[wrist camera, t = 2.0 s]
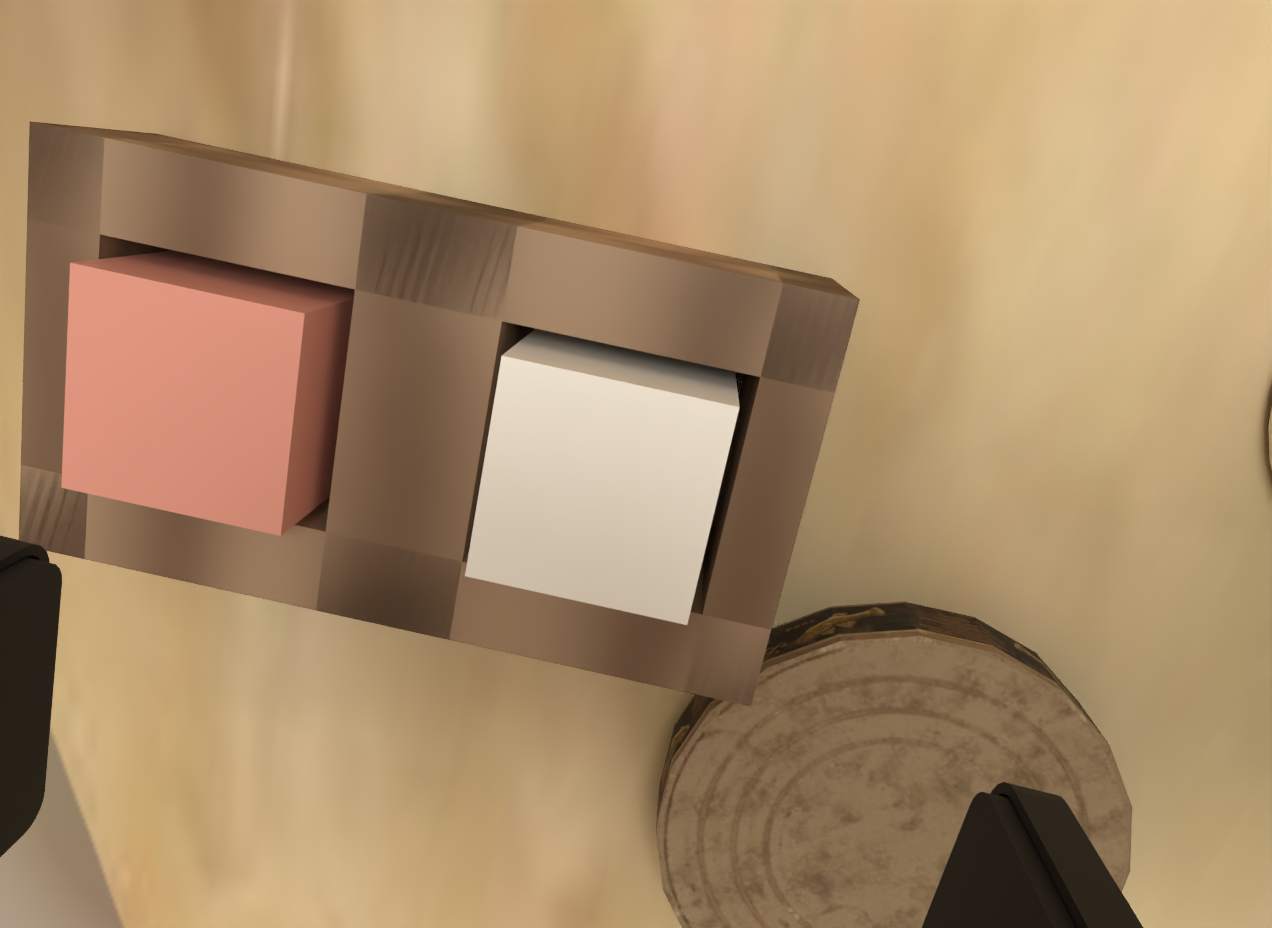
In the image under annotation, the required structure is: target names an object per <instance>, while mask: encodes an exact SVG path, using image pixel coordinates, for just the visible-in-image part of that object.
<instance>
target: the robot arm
mask: <svg viewBox="0 0 1272 928" xmlns="http://www.w3.org/2000/svg"><path fill="white" fill-rule="evenodd" d="M1268 427H1269V459H1270V465H1271V469H1272V408H1271V413H1270V419H1269V425H1268ZM61 587H62V574H61V571H60V568H59V567H58V566H57V565H56V564H52V563H49V557H48V554H47V552H46V550H45V549H44V548H43V547H42V546H40V545H36V544H32V543H28V542H24V541H20V540H16V539H12V538H8V537H4V536H0V857H1V856H2V855H3V854H4V853H5V852H6V851H7V850H8V849H9V848H10V847H11V846H12V845H13V844H14V843H15V842H16V841H17V840H18V839H20V838H21V837H22V835H24V833H25V832H26V831H27V830H28V829H29V828H30V826H31V825H32V823H33V822H34V820H35V818H36V816H37V814H38V812H39V810H40V807H41V804H42V802H43V798H44V792H45V780H46V768H47V756H48V744H49V732H50V720H51V708H52V696H53V684H54V672H55V659H56V647H57V635H58V623H59V611H60V599H61ZM922 928H1143V927H1142V925H1141V923H1140V922H1139V920H1138V918H1137V917H1136V915H1135V914H1134V912H1133V910H1132V909H1131V907H1130V905H1129V904H1128V902H1127V900H1126V899H1125V897H1124V896H1123V894H1122V892H1121V891H1120V889H1119V887H1118V886H1117V884H1116V882H1115V881H1114V879H1113V878H1112V876H1111V874H1110V873H1109V871H1108V869H1107V868H1106V866H1105V864H1104V863H1103V861H1102V860H1101V858H1100V856H1099V855H1098V853H1097V851H1096V850H1095V848H1094V846H1093V845H1092V843H1091V842H1090V840H1089V838H1088V837H1087V835H1086V833H1085V832H1084V830H1083V828H1082V827H1081V825H1080V824H1079V822H1078V820H1077V819H1076V817H1075V815H1074V814H1073V812H1072V811H1071V809H1070V807H1069V806H1068V804H1067V802H1066V801H1065V800H1064V799H1063V798H1062V797H1061V796H1058V795H1055V794H1051V793H1047V792H1043V791H1039V790H1035V789H1031V788H1027V787H1022V786H1018V785H1014V784H1010V783H1006V782H1002V783H1000V784H997V786H996V787H995V788H994V789H993V790H992V791H991V793H986V792H980V793H977V795H976V796H975V797H974V798H973V800H972V802H971V804H970V806H969V809H968V811H967V814H966V816H965V819H964V821H963V824H962V826H961V829H960V831H959V834H958V836H957V839H956V841H955V844H954V847H953V849H952V852H951V854H950V857H949V859H948V862H947V864H946V867H945V869H944V872H943V874H942V877H941V879H940V882H939V885H938V887H937V890H936V892H935V895H934V897H933V900H932V902H931V905H930V907H929V910H928V912H927V915H926V917H925V920H924V923H923V925H922Z"/></svg>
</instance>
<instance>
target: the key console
mask: <svg viewBox="0 0 1272 928" xmlns="http://www.w3.org/2000/svg"><path fill="white" fill-rule="evenodd" d="M174 250H175V251H179V252H184V253H188V254H193V255H198V256H202V257H207V258H212V259H216V260H221V261H226V262H230V263H235V264H239V265H244V266H249V267H253V268H258V269H263V270H267V271H272V272H276V273H281V274H286V275H290V276H295V277H300V278H304V279H309V280H313V281H318V282H323V283H327V284H332V285H337V286H341V287H346V288H351V289H355V294H354V302H353V310H352V318H351V327H350V335H349V343H348V351H347V360H346V368H345V376H344V384H343V393H342V401H341V409H340V417H339V426H338V434H337V442H336V450H335V459H334V467H333V475H332V483H331V492H330V497H328V498H327V499H326V500H325V501H324V502H322V503H321V504H320V505H319V506H317V507H316V508H315V509H314V510H312V511H311V512H310V513H309V514H307V515H306V516H305V517H304V518H302V519H301V520H300V521H299V522H297V523H296V524H295V525H294V526H293V527H291V528H290V529H289V530H288V531H286V532H285V533H284V534H283V535H281V536H278V535H274V534H269V533H265V532H260V531H256V530H251V529H247V528H242V527H238V526H233V525H229V524H224V523H219V522H215V521H210V520H206V519H201V518H197V517H192V516H188V515H183V514H179V513H174V512H169V511H165V510H160V509H156V508H151V507H147V506H142V505H138V504H133V503H129V502H124V501H120V500H115V499H110V498H106V497H101V496H97V495H92V494H88V493H83V492H79V491H74V490H70V489H65V488H61V485H62V459H63V433H64V407H65V381H66V355H67V329H68V303H69V277H70V263H71V262H80V261H88V260H97V259H106V258H114V257H123V256H131V255H140V254H149V253H157V252H166V251H174ZM859 300H860V299H858V298H857V297H856V296H854V295H853V294H852V293H850V292H849V291H848V290H846V289H845V288H844V287H842V286H841V285H840V284H838V283H837V282H836V281H834V280H833V279H831V278H826V277H822V276H817V275H812V274H808V273H803V272H798V271H794V270H789V269H784V268H780V267H775V266H770V265H765V264H761V263H756V262H751V261H747V260H742V259H737V258H733V257H728V256H723V255H719V254H714V253H709V252H705V251H700V250H695V249H691V248H686V247H681V246H677V245H672V244H667V243H663V242H658V241H653V240H649V239H644V238H639V237H635V236H630V235H625V234H621V233H616V232H611V231H607V230H602V229H597V228H593V227H588V226H583V225H579V224H574V223H569V222H565V221H560V220H555V219H551V218H546V217H541V216H537V215H532V214H527V213H523V212H518V211H513V210H509V209H504V208H499V207H495V206H490V205H485V204H481V203H476V202H471V201H467V200H462V199H457V198H453V197H448V196H443V195H439V194H434V193H429V192H425V191H420V190H415V189H411V188H406V187H401V186H397V185H392V184H387V183H383V182H378V181H373V180H369V179H364V178H359V177H355V176H350V175H345V174H341V173H336V172H331V171H327V170H322V169H317V168H313V167H308V166H303V165H299V164H294V163H289V162H285V161H280V160H275V159H271V158H266V157H261V156H257V155H252V154H247V153H243V152H238V151H233V150H229V149H224V148H219V147H214V146H210V145H205V144H200V143H196V142H191V141H186V140H182V139H177V138H172V137H168V136H163V135H158V134H152V133H141V132H131V131H121V130H111V129H100V128H90V127H80V126H69V125H59V124H49V123H39V122H30V134H29V172H28V211H27V249H26V288H25V326H24V365H23V403H22V442H21V480H20V519H19V540H20V541H24V542H28V543H32V544H36V545H40V546H42V547H43V548H44V549H45V550H46V551H51V552H55V553H60V554H64V555H69V556H73V557H78V558H82V559H87V560H91V561H96V562H100V563H105V564H109V565H114V566H118V567H123V568H127V569H132V570H136V571H141V572H145V573H150V574H154V575H159V576H163V577H168V578H172V579H177V580H181V581H186V582H191V583H195V584H200V585H204V586H209V587H213V588H218V589H222V590H227V591H231V592H236V593H240V594H245V595H249V596H254V597H258V598H263V599H267V600H272V601H276V602H281V603H285V604H290V605H294V606H299V607H303V608H308V609H312V610H317V611H321V612H326V613H331V614H335V615H340V616H344V617H349V618H353V619H358V620H362V621H367V622H371V623H376V624H380V625H385V626H389V627H394V628H398V629H403V630H407V631H412V632H416V633H421V634H425V635H430V636H434V637H439V638H443V639H448V640H452V641H457V642H461V643H466V644H471V645H475V646H480V647H484V648H489V649H493V650H498V651H502V652H507V653H511V654H516V655H520V656H525V657H529V658H534V659H538V660H543V661H547V662H552V663H556V664H561V665H565V666H570V667H574V668H579V669H583V670H588V671H592V672H597V673H601V674H606V675H611V676H615V677H620V678H624V679H629V680H633V681H638V682H642V683H647V684H651V685H656V686H660V687H665V688H669V689H674V690H678V691H683V692H687V693H692V694H696V695H701V696H705V697H710V698H714V699H719V700H723V701H728V702H732V703H737V704H741V705H746V706H751V704H752V700H753V696H754V692H755V689H756V685H757V681H758V677H759V674H760V670H761V666H762V663H763V659H764V655H765V651H766V648H767V644H768V640H769V636H770V633H771V629H772V625H773V621H774V618H775V614H776V610H777V607H778V603H779V599H780V595H781V592H782V588H783V584H784V580H785V577H786V573H787V569H788V565H789V562H790V558H791V554H792V551H793V547H794V543H795V539H796V536H797V532H798V528H799V524H800V521H801V517H802V513H803V509H804V506H805V502H806V498H807V494H808V491H809V487H810V483H811V480H812V476H813V472H814V468H815V465H816V461H817V457H818V453H819V450H820V446H821V442H822V438H823V435H824V431H825V427H826V424H827V420H828V416H829V412H830V409H831V405H832V401H833V397H834V394H835V390H836V386H837V382H838V379H839V375H840V371H841V367H842V364H843V360H844V356H845V353H846V349H847V345H848V341H849V338H850V334H851V330H852V326H853V323H854V319H855V315H856V311H857V308H858V304H859ZM534 328H536V329H540V330H545V331H550V332H554V333H559V334H563V335H568V336H573V337H577V338H582V339H587V340H591V341H596V342H601V343H605V344H610V345H614V346H619V347H624V348H628V349H633V350H638V351H642V352H647V353H651V354H656V355H661V356H665V357H670V358H675V359H679V360H684V361H688V362H693V363H698V364H702V365H707V366H712V367H716V368H721V369H725V370H730V371H735V372H739V373H744V376H743V380H742V384H741V389H740V393H739V397H738V398H739V406H740V408H739V412H738V416H737V420H736V424H735V428H734V433H733V437H732V441H731V445H730V449H729V453H728V458H727V462H726V466H725V470H724V474H723V478H722V482H721V487H720V491H719V495H718V499H717V503H716V507H715V512H714V516H713V520H712V524H711V528H710V532H709V537H708V541H707V545H706V549H705V553H704V557H703V561H702V566H701V570H700V574H699V578H698V582H697V586H696V591H695V595H694V599H693V603H692V607H691V611H690V616H689V620H688V624H687V625H684V624H680V623H675V622H671V621H666V620H662V619H657V618H652V617H648V616H643V615H639V614H634V613H630V612H625V611H621V610H616V609H612V608H607V607H603V606H598V605H593V604H589V603H584V602H580V601H575V600H571V599H566V598H562V597H557V596H553V595H548V594H544V593H539V592H534V591H530V590H525V589H521V588H516V587H512V586H507V585H503V584H498V583H494V582H489V581H484V580H480V579H475V578H471V577H466V576H465V572H466V566H467V560H468V554H469V548H470V542H471V536H472V530H473V524H474V518H475V512H476V506H477V500H478V494H479V488H480V482H481V476H482V470H483V464H484V458H485V452H486V446H487V440H488V434H489V428H490V422H491V416H492V410H493V404H494V398H495V392H496V386H497V380H498V374H499V368H500V362H501V356H502V355H503V354H504V353H506V352H507V351H508V350H509V349H511V348H512V347H513V346H514V345H516V344H517V343H518V342H519V341H521V340H522V339H523V338H524V337H526V336H527V335H528V334H529V333H531V332H532V331H533V330H534Z"/></svg>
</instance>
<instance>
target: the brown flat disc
mask: <svg viewBox="0 0 1272 928" xmlns="http://www.w3.org/2000/svg"><path fill="white" fill-rule="evenodd" d="M1002 782H1006V783H1010V784H1014V785H1018V786H1022V787H1027V788H1031V789H1035V790H1039V791H1043V792H1047V793H1051V794H1055V795H1058V796H1061V797H1062V798H1063V799H1064V800H1065V801H1066V802H1067V804H1068V806H1069V807H1070V809H1071V811H1072V812H1073V814H1074V815H1075V817H1076V819H1077V820H1078V822H1079V824H1080V825H1081V827H1082V828H1083V830H1084V832H1085V833H1086V835H1087V837H1088V838H1089V840H1090V842H1091V843H1092V845H1093V846H1094V848H1095V850H1096V851H1097V853H1098V855H1099V856H1100V858H1101V860H1102V861H1103V863H1104V864H1105V866H1106V868H1107V869H1108V871H1109V873H1110V874H1111V876H1112V878H1113V879H1114V881H1115V882H1116V884H1117V886H1118V887H1119V889H1120V891H1122V889H1123V887H1124V884H1125V882H1126V879H1127V877H1128V875H1129V872H1130V852H1131V817H1132V806H1131V803H1130V801H1129V798H1128V795H1127V792H1126V790H1125V787H1124V784H1123V782H1122V779H1121V776H1120V773H1119V771H1118V768H1117V765H1116V762H1115V760H1114V757H1113V754H1112V752H1111V749H1110V746H1109V744H1108V742H1107V741H1106V740H1105V738H1104V737H1103V735H1102V734H1101V733H1100V731H1099V730H1098V728H1097V727H1096V726H1095V724H1094V723H1093V721H1092V720H1091V719H1090V717H1089V716H1088V715H1087V713H1086V712H1085V710H1084V709H1083V708H1082V706H1081V705H1080V703H1079V702H1078V701H1077V700H1076V699H1075V697H1074V696H1073V695H1072V694H1071V693H1070V692H1069V691H1068V689H1067V688H1066V687H1065V686H1064V685H1063V684H1062V682H1061V681H1060V680H1059V679H1058V678H1057V677H1056V676H1055V674H1054V673H1053V672H1052V671H1051V670H1050V669H1049V668H1048V666H1047V665H1046V664H1045V663H1044V662H1043V661H1042V659H1041V658H1040V657H1039V656H1038V655H1037V654H1036V653H1035V652H1034V651H1032V650H1030V649H1028V648H1027V647H1025V646H1023V645H1022V644H1020V643H1018V642H1016V641H1015V640H1013V639H1011V638H1009V637H1008V636H1006V635H1004V634H1002V633H1001V632H999V631H997V630H996V629H994V628H992V627H990V626H989V625H987V624H985V623H983V622H982V621H980V620H978V619H976V618H974V617H970V616H965V615H961V614H957V613H952V612H948V611H943V610H939V609H934V608H930V607H925V606H921V605H916V604H912V603H907V602H893V603H878V604H863V605H848V606H834V607H829V608H826V609H823V610H820V611H818V612H815V613H812V614H810V615H807V616H804V617H802V618H799V619H796V620H793V621H791V622H788V623H785V624H783V625H780V626H777V627H775V628H772V629H771V633H770V636H769V640H768V644H767V648H766V651H765V655H764V659H763V663H762V666H761V670H760V674H759V677H758V681H757V685H756V689H755V692H754V696H753V700H752V704H751V706H746V705H741V704H737V703H732V702H728V701H723V700H719V699H714V698H710V697H705V696H701V695H696V694H695V696H694V697H693V699H692V700H691V702H690V703H689V705H688V706H687V708H686V709H685V711H684V712H683V714H682V715H681V716H680V718H679V719H678V721H677V722H676V724H675V726H674V730H673V734H672V738H671V742H670V746H669V750H668V754H667V758H666V762H665V766H664V770H663V774H662V778H661V782H660V790H659V802H658V813H657V825H656V832H657V840H658V849H659V857H660V866H661V874H662V883H663V890H664V892H665V894H666V896H667V898H668V900H669V902H670V904H671V906H672V908H673V910H674V912H675V914H676V916H677V918H678V920H679V922H680V924H681V926H682V928H922V925H923V923H924V920H925V917H926V915H927V912H928V910H929V907H930V905H931V902H932V900H933V897H934V895H935V892H936V890H937V887H938V885H939V882H940V879H941V877H942V874H943V872H944V869H945V867H946V864H947V862H948V859H949V857H950V854H951V852H952V849H953V847H954V844H955V841H956V839H957V836H958V834H959V831H960V829H961V826H962V824H963V821H964V819H965V816H966V814H967V811H968V809H969V806H970V804H971V802H972V800H973V798H974V797H975V796H976V795H977V793H980V792H986V793H991V791H992V790H993V789H994V788H995V787H996V786H997V784H1000V783H1002Z"/></svg>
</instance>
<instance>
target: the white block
mask: <svg viewBox="0 0 1272 928" xmlns="http://www.w3.org/2000/svg"><path fill="white" fill-rule="evenodd" d="M739 408H740V406H739V398H738V391H737V383H736V375H735V371H730V370H725V369H721V368H716V367H712V366H707V365H702V364H698V363H693V362H688V361H684V360H679V359H675V358H670V357H665V356H661V355H656V354H651V353H647V352H642V351H638V350H633V349H628V348H624V347H619V346H614V345H610V344H605V343H601V342H596V341H591V340H587V339H582V338H577V337H573V336H568V335H563V334H559V333H554V332H550V331H545V330H540V329H534V330H533V331H532V332H531V333H529V334H528V335H527V336H526V337H524V338H523V339H522V340H521V341H519V342H518V343H517V344H516V345H514V346H513V347H512V348H511V349H509V350H508V351H507V352H506V353H504V354H503V355H502V356H501V362H500V368H499V374H498V380H497V386H496V392H495V398H494V404H493V410H492V416H491V422H490V428H489V434H488V440H487V446H486V452H485V458H484V464H483V470H482V476H481V482H480V488H479V494H478V500H477V506H476V512H475V518H474V524H473V530H472V536H471V542H470V548H469V554H468V560H467V566H466V572H465V576H466V577H471V578H475V579H480V580H484V581H489V582H494V583H498V584H503V585H507V586H512V587H516V588H521V589H525V590H530V591H534V592H539V593H544V594H548V595H553V596H557V597H562V598H566V599H571V600H575V601H580V602H584V603H589V604H593V605H598V606H603V607H607V608H612V609H616V610H621V611H625V612H630V613H634V614H639V615H643V616H648V617H652V618H657V619H662V620H666V621H671V622H675V623H680V624H684V625H687V624H688V620H689V616H690V611H691V607H692V603H693V599H694V595H695V591H696V586H697V582H698V578H699V574H700V570H701V566H702V561H703V557H704V553H705V549H706V545H707V541H708V537H709V532H710V528H711V524H712V520H713V516H714V512H715V507H716V503H717V499H718V495H719V491H720V487H721V482H722V478H723V474H724V470H725V466H726V462H727V458H728V453H729V449H730V445H731V441H732V437H733V433H734V428H735V424H736V420H737V416H738V412H739Z"/></svg>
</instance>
